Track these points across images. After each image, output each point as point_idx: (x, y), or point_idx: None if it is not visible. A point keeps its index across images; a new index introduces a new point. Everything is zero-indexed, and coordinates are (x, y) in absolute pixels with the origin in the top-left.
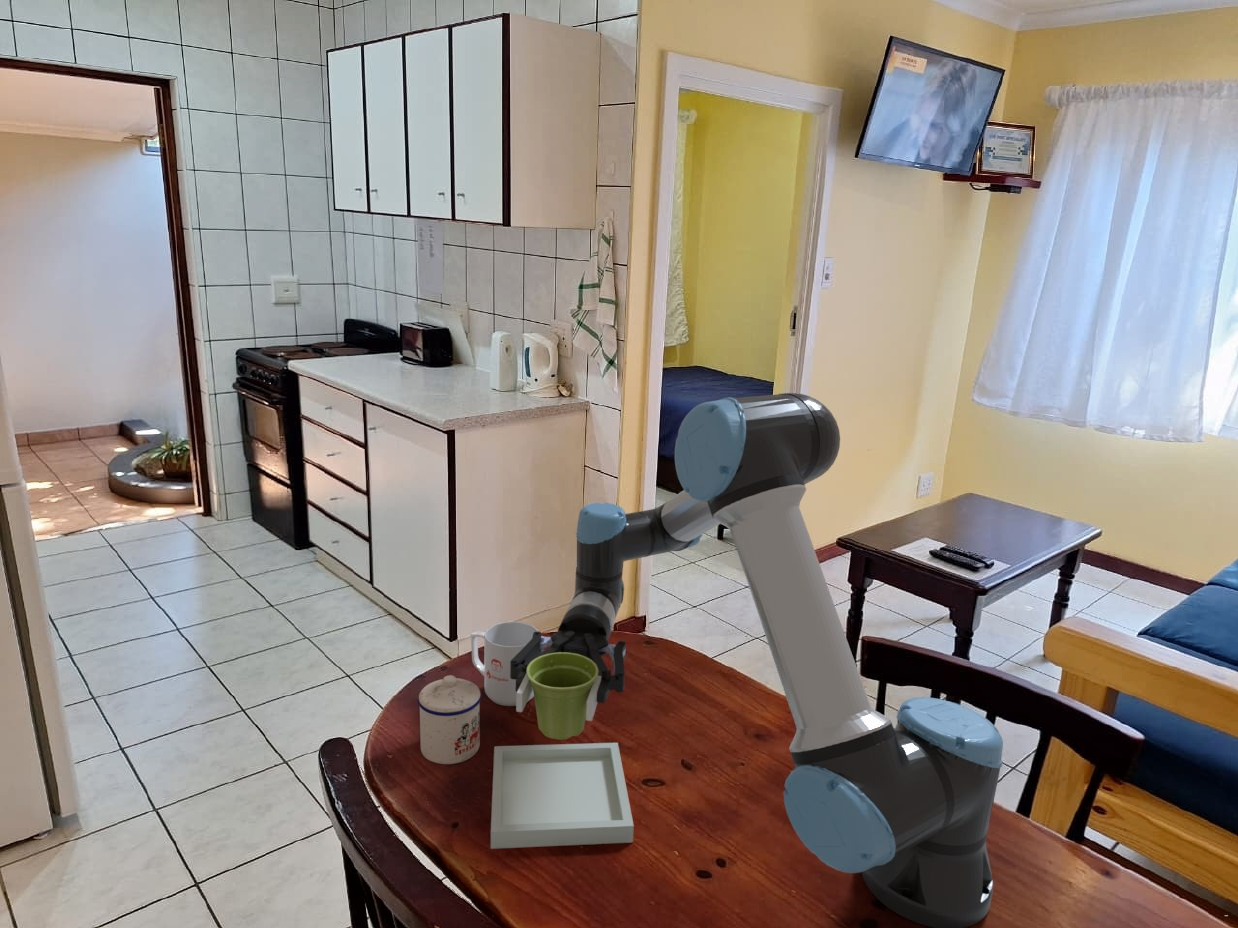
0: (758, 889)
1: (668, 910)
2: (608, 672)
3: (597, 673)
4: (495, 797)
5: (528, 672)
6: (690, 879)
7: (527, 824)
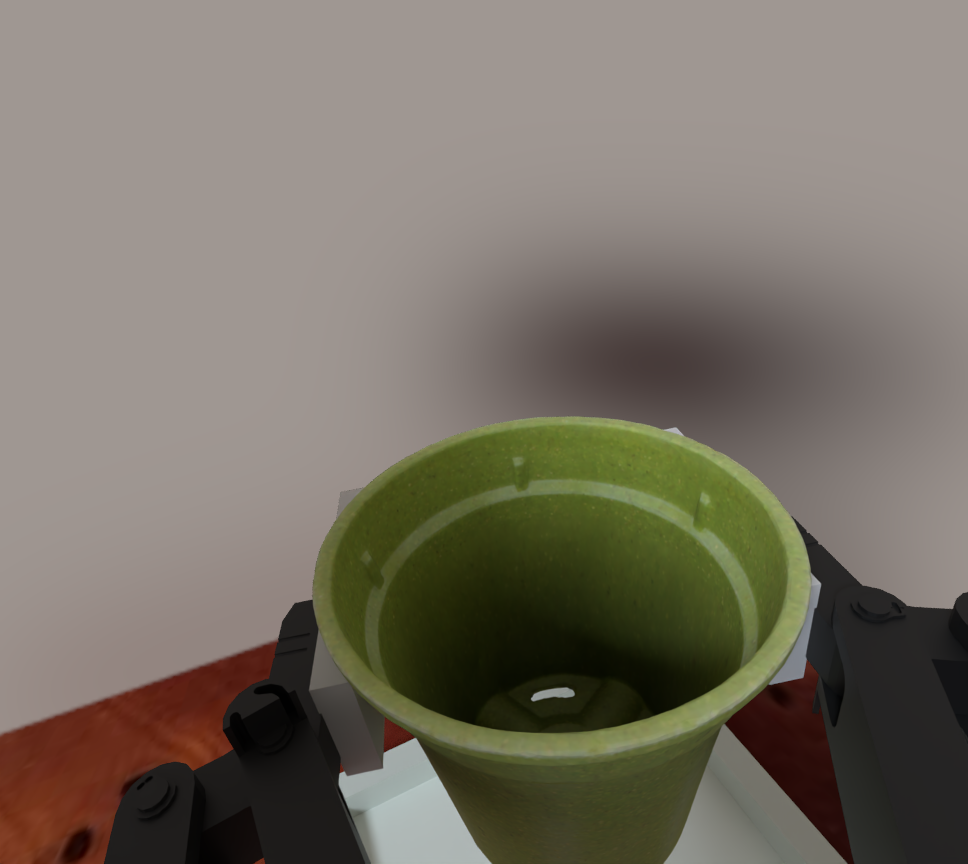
0: (22, 788)
1: (245, 664)
2: (246, 692)
3: (315, 570)
4: (728, 742)
5: (704, 450)
6: (179, 756)
7: None
